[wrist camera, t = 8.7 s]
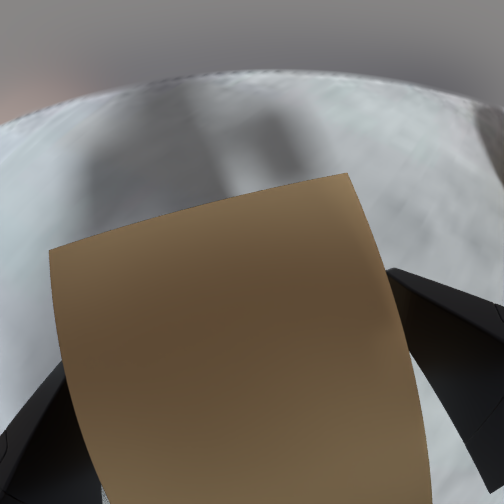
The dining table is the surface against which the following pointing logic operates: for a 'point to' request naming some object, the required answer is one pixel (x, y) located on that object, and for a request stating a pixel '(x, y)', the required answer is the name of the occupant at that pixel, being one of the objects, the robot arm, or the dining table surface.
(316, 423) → the oak block
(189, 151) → the dining table surface
